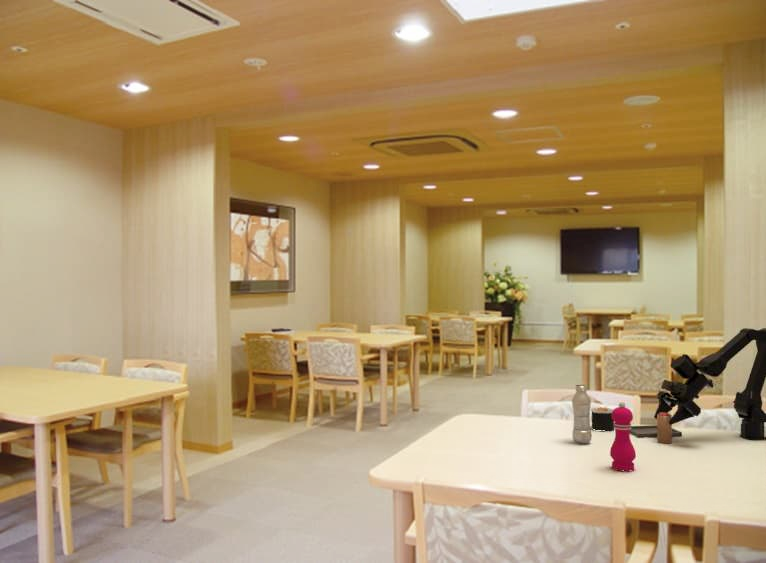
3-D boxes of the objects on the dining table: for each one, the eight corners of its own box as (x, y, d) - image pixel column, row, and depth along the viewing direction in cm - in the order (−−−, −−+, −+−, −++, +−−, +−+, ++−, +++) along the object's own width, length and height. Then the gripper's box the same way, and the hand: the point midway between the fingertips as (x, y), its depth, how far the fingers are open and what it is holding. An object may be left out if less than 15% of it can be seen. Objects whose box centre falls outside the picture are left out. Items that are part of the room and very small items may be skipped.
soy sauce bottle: (667, 440, 229) (667, 411, 229) (674, 443, 224) (674, 414, 224) (655, 441, 228) (654, 412, 228) (661, 444, 224) (661, 414, 224)
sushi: (612, 427, 251) (612, 406, 251) (615, 432, 242) (614, 410, 242) (590, 426, 252) (590, 405, 252) (592, 431, 244) (592, 410, 244)
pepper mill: (637, 472, 192) (636, 404, 192) (612, 471, 194) (611, 404, 194) (633, 465, 200) (632, 400, 199) (608, 464, 201) (607, 399, 201)
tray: (665, 428, 246) (665, 424, 246) (681, 436, 234) (681, 432, 234) (623, 430, 245) (623, 426, 245) (638, 437, 233) (638, 433, 233)
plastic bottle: (571, 444, 226) (570, 386, 226) (573, 439, 232) (572, 383, 232) (591, 446, 223) (589, 387, 223) (592, 441, 229) (591, 384, 229)
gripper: (661, 368, 236) (632, 400, 235) (692, 375, 218) (661, 410, 216) (682, 389, 237) (653, 421, 236) (714, 398, 219) (683, 433, 217)
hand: (662, 420), depth 226 cm, fingers open, 9 cm apart
